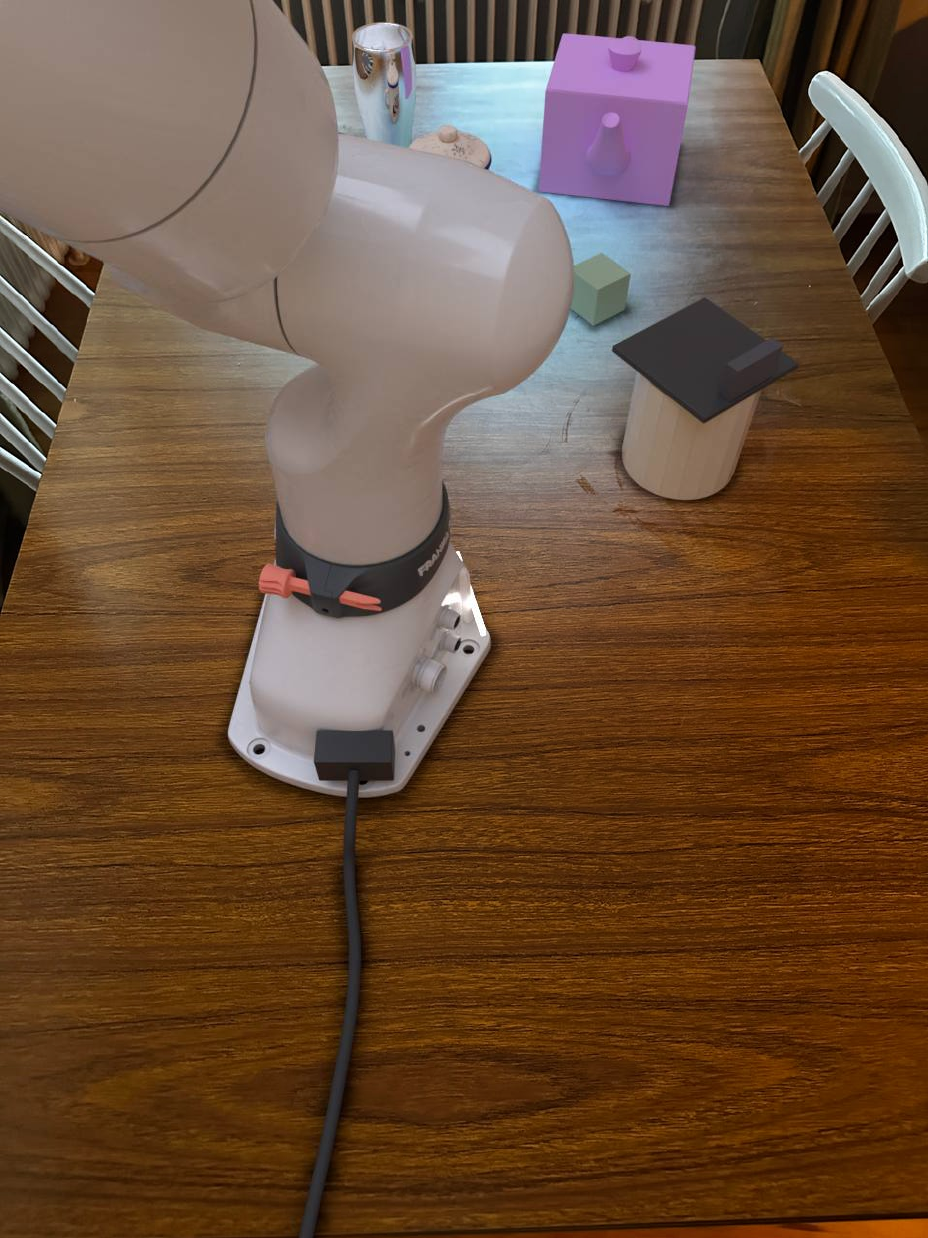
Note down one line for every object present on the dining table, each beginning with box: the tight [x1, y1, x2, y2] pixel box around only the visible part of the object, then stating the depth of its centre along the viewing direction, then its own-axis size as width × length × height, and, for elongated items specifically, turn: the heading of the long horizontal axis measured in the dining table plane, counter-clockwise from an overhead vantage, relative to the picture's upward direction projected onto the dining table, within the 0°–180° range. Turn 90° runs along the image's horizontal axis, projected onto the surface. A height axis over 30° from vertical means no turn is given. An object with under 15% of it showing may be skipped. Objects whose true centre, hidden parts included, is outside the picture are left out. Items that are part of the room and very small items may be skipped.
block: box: [571, 252, 631, 327], centre depth 97 cm, size 4×4×4 cm
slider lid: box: [611, 296, 800, 424], centre depth 76 cm, size 11×11×4 cm
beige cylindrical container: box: [621, 371, 763, 501], centre depth 82 cm, size 10×10×11 cm
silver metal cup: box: [351, 21, 418, 148], centre depth 108 cm, size 7×7×15 cm
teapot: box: [538, 33, 696, 207], centre depth 108 cm, size 15×25×14 cm, turn 169°
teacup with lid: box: [409, 124, 492, 171], centre depth 102 cm, size 12×9×12 cm
